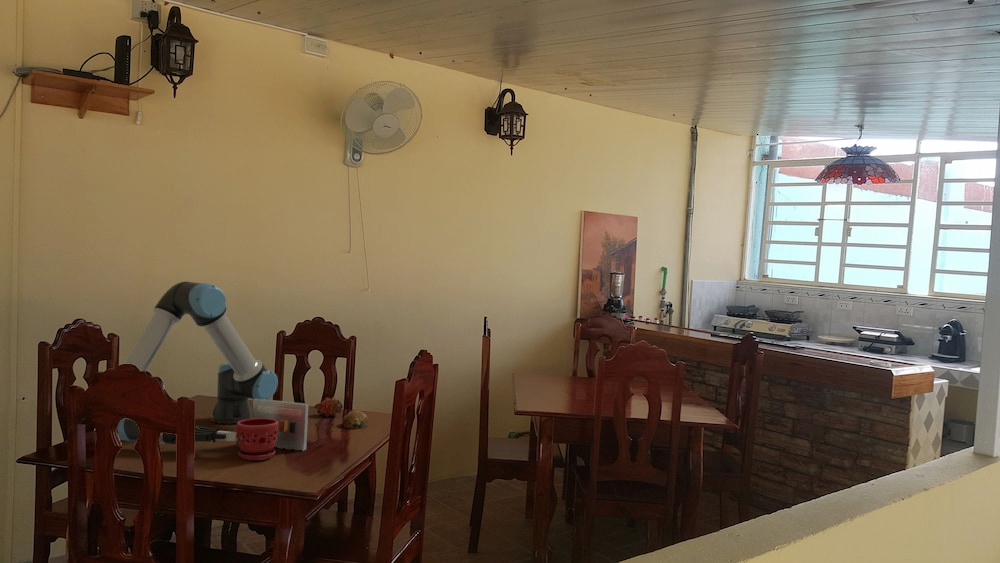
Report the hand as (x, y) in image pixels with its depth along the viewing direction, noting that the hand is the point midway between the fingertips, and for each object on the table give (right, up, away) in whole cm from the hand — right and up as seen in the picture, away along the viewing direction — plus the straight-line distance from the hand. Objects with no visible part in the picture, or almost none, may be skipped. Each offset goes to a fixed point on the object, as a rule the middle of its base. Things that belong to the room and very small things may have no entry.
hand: (236, 436), depth 237 cm
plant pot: (+6, -7, +1) cm, 9 cm away
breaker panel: (+10, -7, +14) cm, 18 cm away
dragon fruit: (+14, -6, +66) cm, 68 cm away
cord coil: (-2, -6, +13) cm, 15 cm away
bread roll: (+29, -7, +51) cm, 59 cm away
